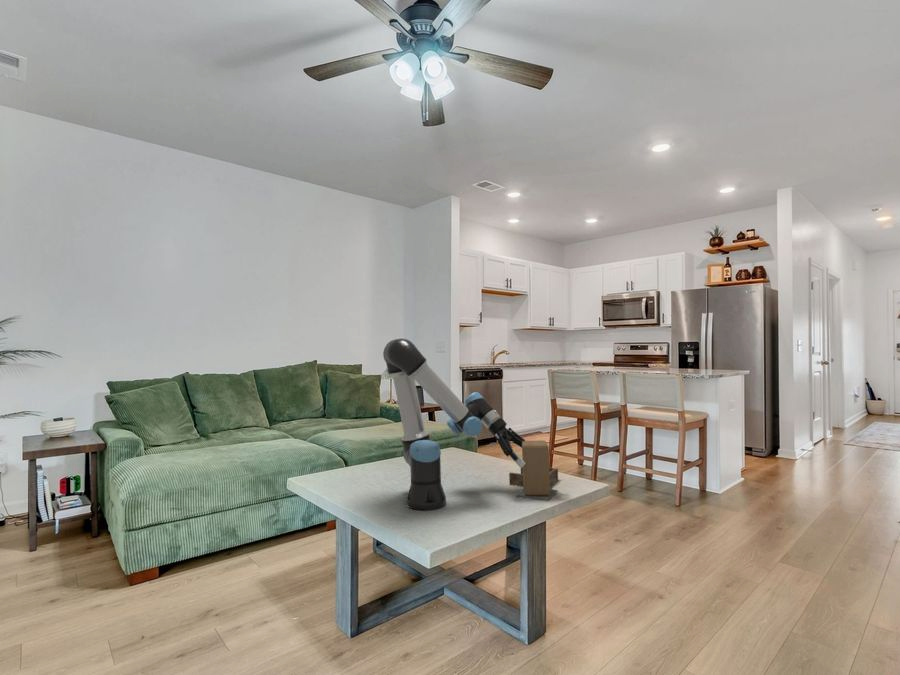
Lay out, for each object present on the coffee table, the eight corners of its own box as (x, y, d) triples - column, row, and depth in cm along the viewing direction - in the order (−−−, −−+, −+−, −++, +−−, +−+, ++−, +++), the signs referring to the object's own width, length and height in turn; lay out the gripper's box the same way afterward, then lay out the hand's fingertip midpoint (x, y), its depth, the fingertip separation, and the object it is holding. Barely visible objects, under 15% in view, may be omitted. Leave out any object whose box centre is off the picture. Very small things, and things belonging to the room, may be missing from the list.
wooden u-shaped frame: (509, 484, 205) (509, 473, 205) (521, 476, 219) (521, 465, 219) (547, 489, 197) (547, 477, 197) (558, 479, 211) (557, 468, 211)
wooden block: (547, 488, 195) (546, 440, 196) (550, 496, 185) (548, 444, 186) (523, 488, 196) (521, 440, 197) (524, 496, 186) (522, 445, 187)
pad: (516, 497, 188) (516, 495, 188) (526, 488, 200) (526, 486, 200) (548, 501, 182) (548, 499, 182) (557, 491, 194) (557, 489, 194)
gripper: (487, 421, 188) (524, 463, 180) (511, 413, 210) (545, 450, 202) (475, 433, 190) (511, 475, 182) (500, 424, 212) (533, 461, 204)
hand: (529, 462), depth 192 cm, fingers open, 13 cm apart
